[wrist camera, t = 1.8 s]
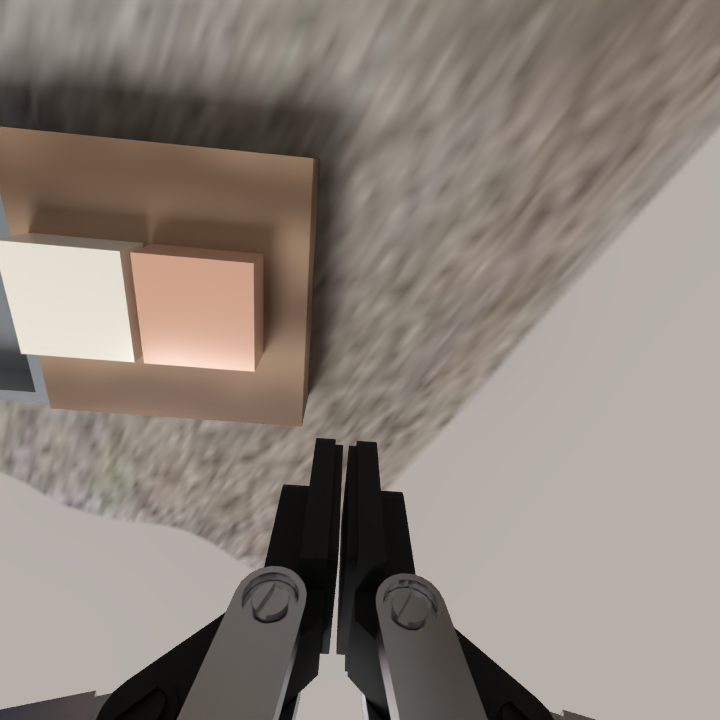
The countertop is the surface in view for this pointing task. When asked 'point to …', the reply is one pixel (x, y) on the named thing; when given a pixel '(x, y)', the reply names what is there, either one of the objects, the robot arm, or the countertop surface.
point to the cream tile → (72, 296)
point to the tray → (16, 352)
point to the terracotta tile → (199, 306)
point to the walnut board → (186, 229)
